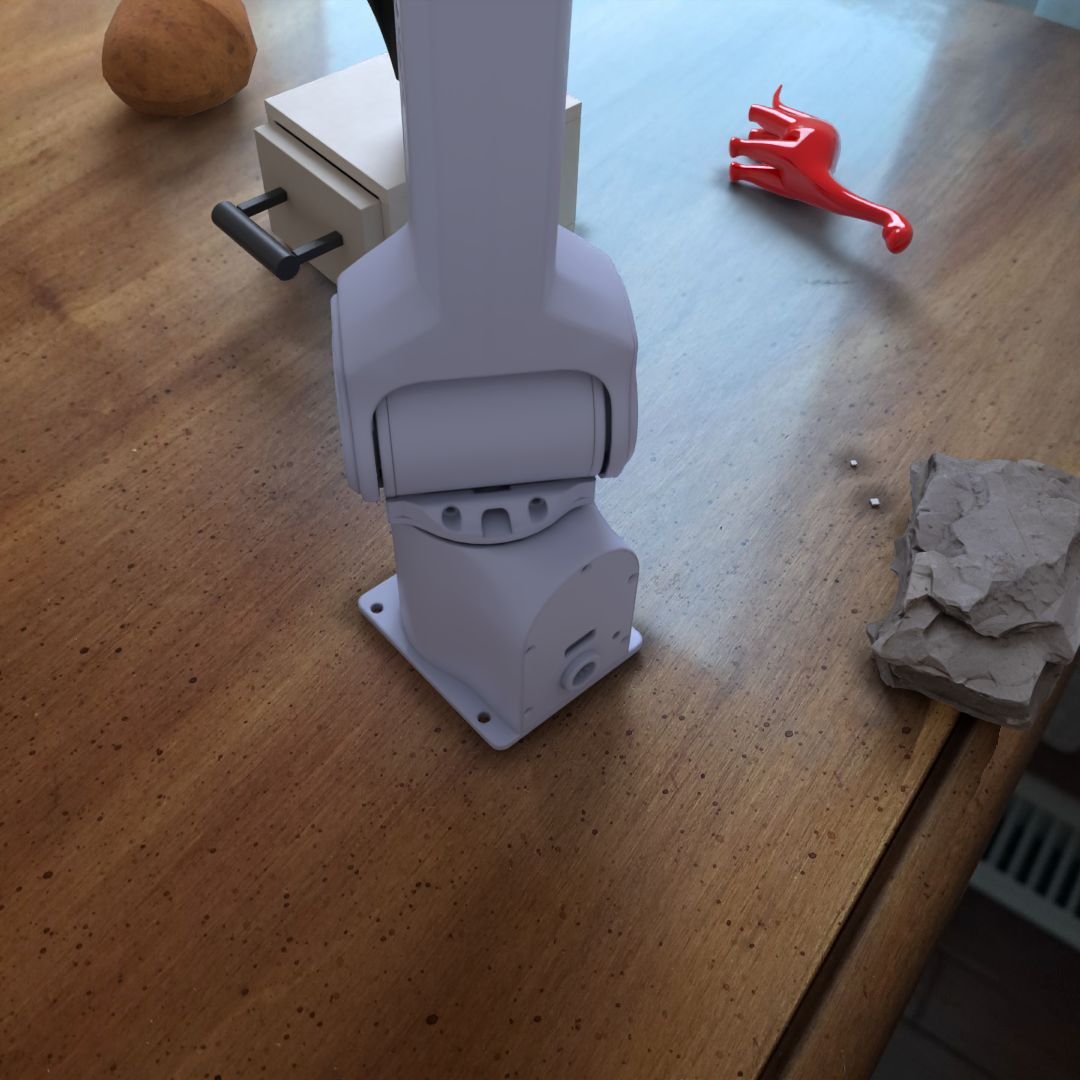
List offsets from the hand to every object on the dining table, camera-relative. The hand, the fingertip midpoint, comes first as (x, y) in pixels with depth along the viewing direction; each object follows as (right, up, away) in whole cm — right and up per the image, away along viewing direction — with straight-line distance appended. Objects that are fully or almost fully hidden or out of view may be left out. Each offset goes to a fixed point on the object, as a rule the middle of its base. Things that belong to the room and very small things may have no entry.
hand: (418, 82), depth 59 cm
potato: (-16, +5, +17) cm, 24 cm away
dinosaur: (+18, +1, +13) cm, 22 cm away
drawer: (-3, -7, +6) cm, 9 cm away
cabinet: (0, -5, +8) cm, 10 cm away
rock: (+21, -21, -8) cm, 31 cm away
